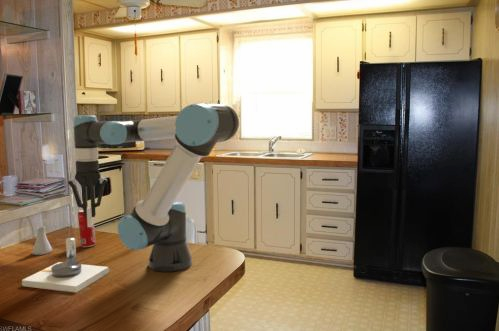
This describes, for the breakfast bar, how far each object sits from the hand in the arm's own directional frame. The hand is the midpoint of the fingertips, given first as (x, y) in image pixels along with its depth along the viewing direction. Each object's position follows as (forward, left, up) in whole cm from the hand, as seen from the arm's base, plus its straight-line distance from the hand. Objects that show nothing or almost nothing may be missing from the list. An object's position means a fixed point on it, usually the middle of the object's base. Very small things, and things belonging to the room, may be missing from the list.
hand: (90, 226), depth 153 cm
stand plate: (0, +13, -15) cm, 20 cm away
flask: (+28, -8, -15) cm, 33 cm away
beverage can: (+16, -20, -15) cm, 30 cm away
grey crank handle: (+2, +10, -12) cm, 16 cm away
